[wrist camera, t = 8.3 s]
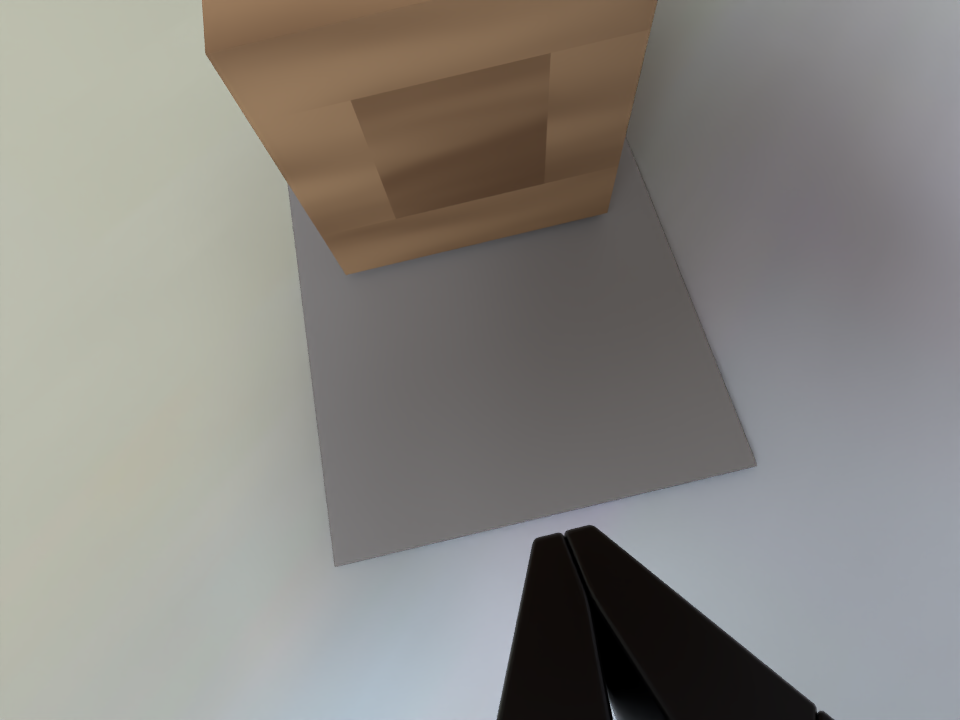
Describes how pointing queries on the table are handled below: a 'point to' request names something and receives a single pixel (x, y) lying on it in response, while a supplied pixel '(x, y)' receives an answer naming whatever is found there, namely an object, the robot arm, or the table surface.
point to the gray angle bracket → (509, 378)
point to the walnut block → (434, 112)
